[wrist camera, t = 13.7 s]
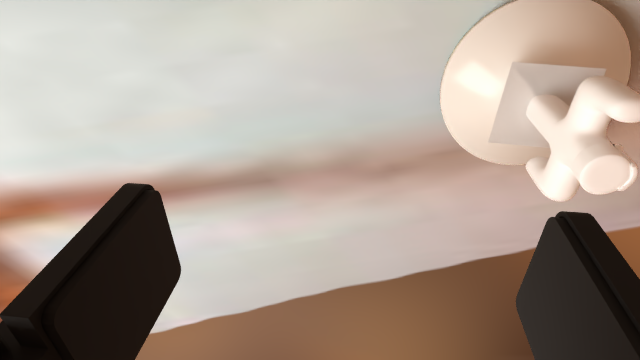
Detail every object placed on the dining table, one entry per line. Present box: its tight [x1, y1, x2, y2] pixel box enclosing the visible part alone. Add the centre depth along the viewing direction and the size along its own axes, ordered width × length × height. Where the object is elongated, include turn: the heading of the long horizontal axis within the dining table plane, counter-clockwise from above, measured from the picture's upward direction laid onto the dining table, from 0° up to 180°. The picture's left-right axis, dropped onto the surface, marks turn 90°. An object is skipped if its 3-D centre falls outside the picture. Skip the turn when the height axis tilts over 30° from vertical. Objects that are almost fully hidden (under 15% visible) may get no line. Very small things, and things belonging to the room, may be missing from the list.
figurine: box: [488, 62, 640, 202], centre depth 30 cm, size 7×9×15 cm
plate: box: [440, 0, 631, 165], centre depth 37 cm, size 16×16×2 cm
